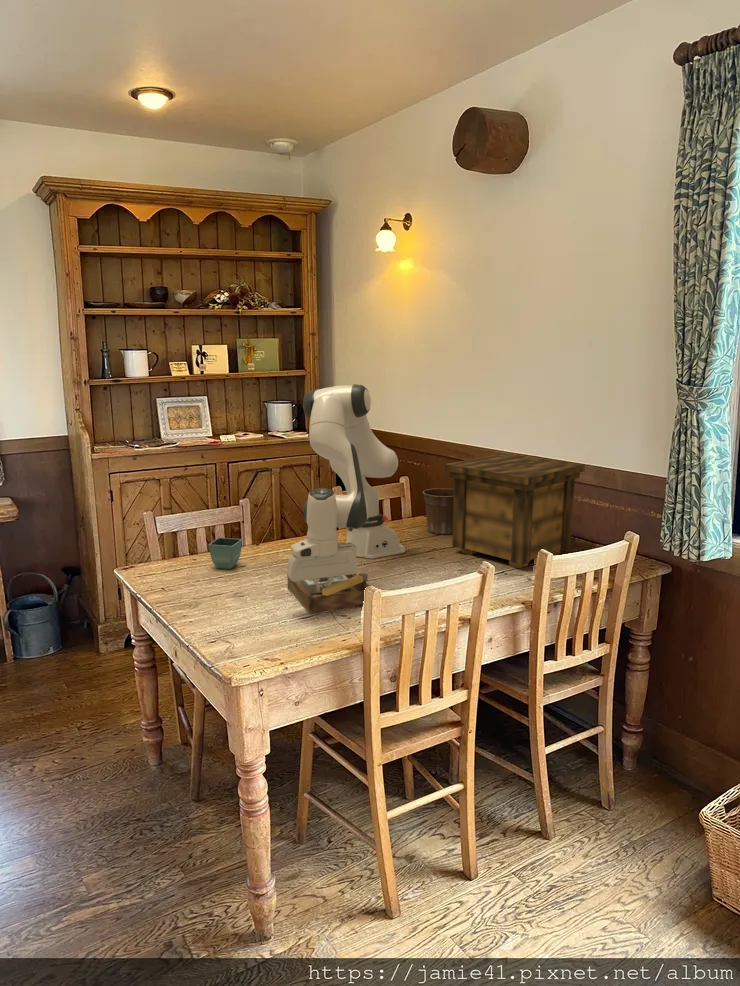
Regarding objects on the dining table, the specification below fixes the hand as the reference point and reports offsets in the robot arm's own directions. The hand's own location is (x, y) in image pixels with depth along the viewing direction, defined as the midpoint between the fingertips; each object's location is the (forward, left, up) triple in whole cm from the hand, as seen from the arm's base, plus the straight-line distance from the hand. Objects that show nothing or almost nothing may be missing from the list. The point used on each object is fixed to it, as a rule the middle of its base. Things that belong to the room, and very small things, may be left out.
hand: (323, 591), depth 219 cm
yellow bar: (-7, -1, 0) cm, 8 cm away
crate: (-81, -29, -6) cm, 86 cm away
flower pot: (+19, -49, -6) cm, 53 cm away
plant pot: (-71, -65, -6) cm, 97 cm away
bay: (-5, -9, -5) cm, 12 cm away
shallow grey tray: (-5, -15, -4) cm, 16 cm away
